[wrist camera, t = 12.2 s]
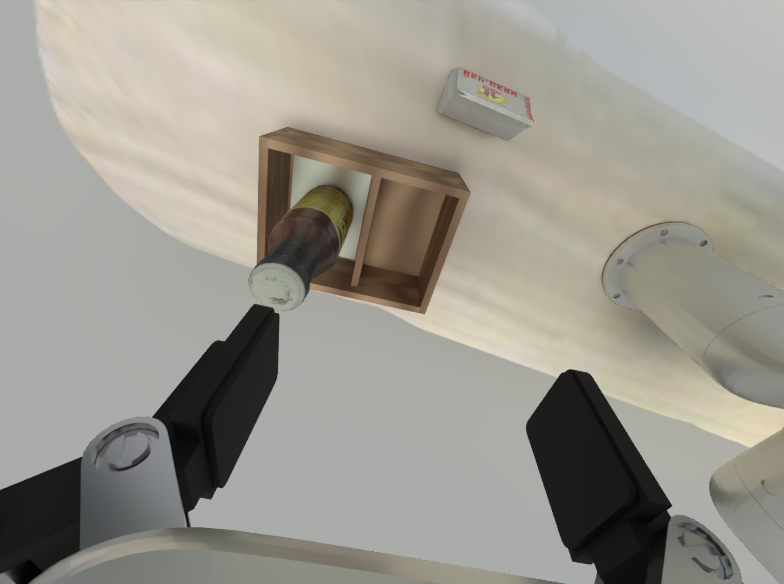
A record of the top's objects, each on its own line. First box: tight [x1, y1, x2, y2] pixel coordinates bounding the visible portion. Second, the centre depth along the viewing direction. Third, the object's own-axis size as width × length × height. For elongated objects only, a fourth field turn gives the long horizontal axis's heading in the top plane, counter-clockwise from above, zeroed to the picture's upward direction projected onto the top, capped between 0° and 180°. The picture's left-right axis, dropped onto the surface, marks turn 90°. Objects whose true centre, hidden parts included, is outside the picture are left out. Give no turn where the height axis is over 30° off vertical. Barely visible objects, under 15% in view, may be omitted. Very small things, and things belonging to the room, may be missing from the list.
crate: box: [257, 127, 470, 314], centre depth 37 cm, size 20×15×8 cm
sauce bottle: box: [249, 185, 353, 311], centre depth 31 cm, size 7×6×20 cm
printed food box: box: [437, 68, 534, 141], centre depth 30 cm, size 4×7×10 cm, turn 71°
